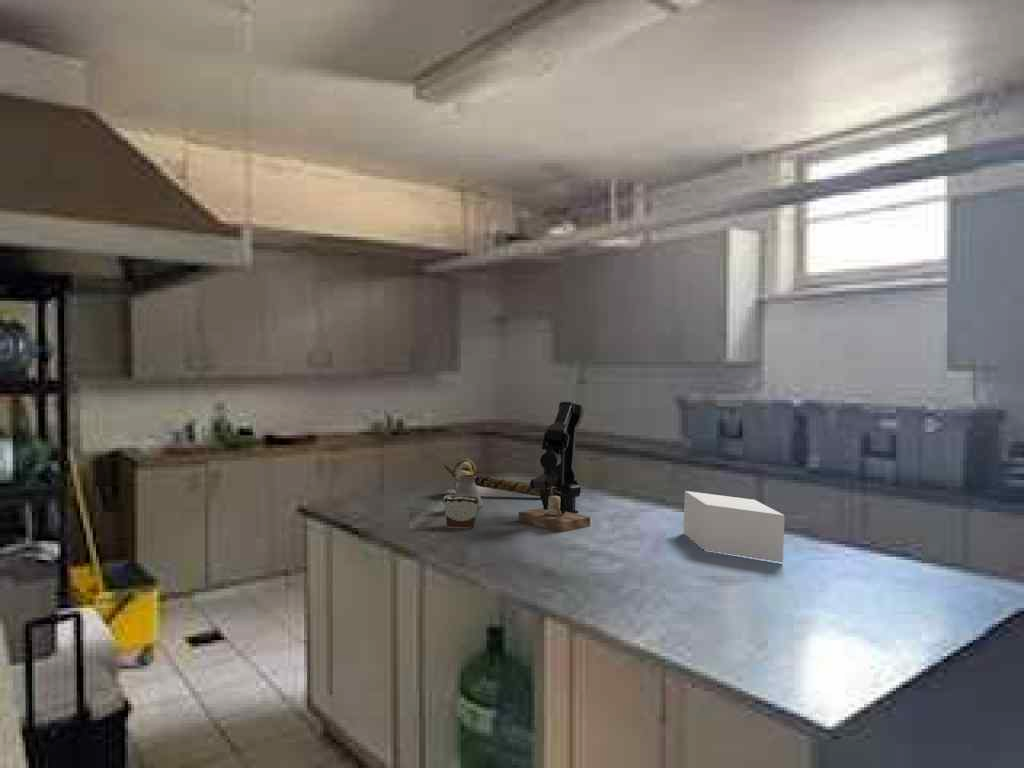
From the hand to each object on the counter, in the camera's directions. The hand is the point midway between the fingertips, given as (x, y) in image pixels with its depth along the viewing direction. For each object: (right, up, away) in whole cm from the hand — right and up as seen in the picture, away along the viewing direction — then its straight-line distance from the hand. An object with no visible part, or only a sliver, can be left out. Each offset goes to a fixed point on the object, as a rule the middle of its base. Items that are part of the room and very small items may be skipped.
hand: (554, 511), depth 254 cm
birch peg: (0, -4, 0) cm, 4 cm away
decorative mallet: (-18, -2, +44) cm, 48 cm away
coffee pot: (-33, -3, +20) cm, 39 cm away
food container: (-31, -4, -7) cm, 32 cm away
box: (+51, -7, -27) cm, 58 cm away
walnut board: (0, -4, 0) cm, 4 cm away
